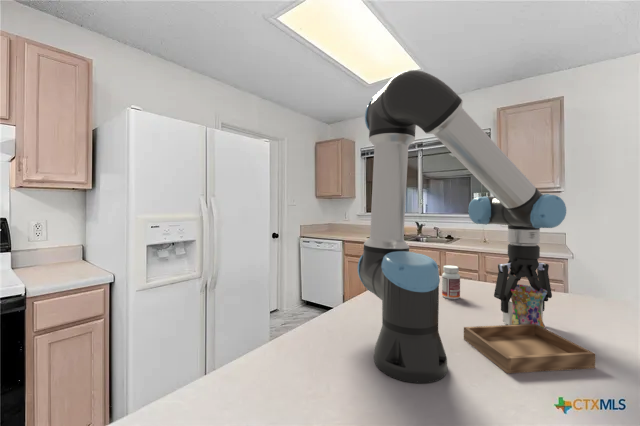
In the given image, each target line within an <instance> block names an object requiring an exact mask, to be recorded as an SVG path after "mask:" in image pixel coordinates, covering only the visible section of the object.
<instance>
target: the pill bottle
mask: <svg viewBox="0 0 640 426" xmlns="http://www.w3.org/2000/svg"><path fill="white" fill-rule="evenodd" d="M442 267H443V273H442V275H441V295H442V297H443V298H445V299H450V300H457V299H460V298H461V275H460V274H459V271H460V270H459V269H460V268H459V266H457V265H450V264H449V265H443V266H442Z"/></svg>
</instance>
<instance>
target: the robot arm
mask: <svg viewBox="0 0 640 426" xmlns="http://www.w3.org/2000/svg"><path fill="white" fill-rule="evenodd" d="M463 102H464V100H463V99H462V98H461V97H460V96H459V95H458V94H457V93H456V91H454V90H453V89H452V88H451V87H450V86H449V85H448V84H447V83H446V82H444V81H443V80H441V79H440V78H438V77H436V76H435V75H433V74H430V73H428V72H425V71H421V70H416V69H415V70H414V69H413V70H412V69H411V70H406V71H402V72H400V73H398V74H396V75H394V77H392V78H391V79H390V80H389V81H388V82H387V84H386V85H385V86H384V87H383V88H382V89H380V90H379V91H378V92H376V93H375V95H373V96H372V98H371V99H370V100H369V103H368V104H367V106H366V109H365V113H364V124H365V126H366V129H367V130H368V141H369V142H370V143H371V145H373V146H374V149H373V165H372V166H373V170H372V187H371V189H372V192H371V193H372V194H371V210H370V211H371V212H370V226H369V227H370V229H369V230H370V232H369V238H367V240H365V241H364V242H363V254H362V255H360V257H359V258H358V262H357V275H358V278H359V280H360V282H361V283H362V285H363V286H364V287H365V288H366V289H367V291H369V292H370V293H372V294H373V295H375V296H376V297H377V298H378V299H380V300H381V302H382V303H381V306H382V307H381V312H382V313H381V315H382V318H381V319H382V321H381V323H382V325H381V328H380V331H379V334H378V336H377V337H378V338H377V340H376V341H375V342H376V343H375V345H374V350H373V353H374V354H373V355H374V358H373V360H374V364H375V366H376V368H378V369H379V371H381V372H382V373H384V374H385V375H387V376H389V377H391V378H393V379H396V380H400V381H402V382H407V383H413V384H414V383H415V384H427V383H434V382H436V381H439V380H441V379H442V378H444V377H445V376H446V375H447V373H448V357H447V354H446V350H445V348H444V345H443V341H442V339H441V336H440V332H439V315H440V314H439V313H440V312H439V308H440V307H439V306H440V305H439V302H440V301H439V299H440V298H439V297H440V296H439V295H440V293H439V292H440V288H439V287H440V282H441V281H440V279H441V278H440V273H439V271H440V270H439V265H438V263H437V262H436V261H435V260H434V259H433V258H432V257H430V256H428V255H426V254H423V253H417V252H414V251H410V245H409V244H408V243H407V242H406V240H405V238H404V237H405V236H404V235H405V220H406V219H405V217H406V215H405V214H406V199H407V197H406V196H407V181H408V180H407V178H408V177H407V176H408V164H409V163H408V160H409V146H410V145H411V144H412V143H413V142H415V140H416V126H417V127H419V128H420V129H421V130H422V131H423V132H424V133H425V134H426V135H427V134H429V135H434V136H435V137H436V139H438V140H439V142H440V143H441V144H442V145H443V146H445V148H446V149H448V151H450V153H451V154H452V155H453V156H454V157H455V158H456V159H457V160H458V161H459V162H460V163H461V164H462V165H463V166H464V167H465V168H466V169H467V170H468V171H469V172H470V173H471V174H472V175H473V177H475V179H476V180H478V182H479V183H481V184H482V186H484V188H485V189H486V190H487V191H488V192H489V193H490V194H491V195H492V196H478V197H475V198H472V199H471V200H470V202H469V205H468V212H467V213H468V217H469V219H470V221H472V222H473V223H474V224H477V225H501V226H502V225H503V226H507V242H508V244H507V256H508V261H507V263H498V264H497V270H498V273H497V276H496V277H497V279H496V283H495V288H494V292H493V296H494V298H496V299H498V300H500V311H501V312H502V323H504V324H505V325H512V301H510V300H511V296H512V292H511V289H512V290H515V287H516V285H518V283H519V282H520V281H521V280H522V278H527V280H528V282H529V286H531V287H532V288H534V289H535V290H537V291H539V290H540V288H542V289H544V290H546V291H547V294H546V296H545V298H544V300H543V303H542V307H541V317H542V321H543V322H544V319H543V316H544V315H543V314H544V311H545V307H546V305H545V304H546V302H548V301H549V299H551V298H552V297H553V293H552V288H551V287H552V286H551V282H550V277H549V267H550V265H549V264H548V263H545V262H539V259H540V257H541V256H540V254H541V253H540V252H541V250H540V249H541V246H540V245H539V244H540V243H541V242H540V241H541V238H540V237H541V229H553V228H556V227H559V226H560V225H562V223H563V222H564V221H565V219H566V216H567V206H566V203H565V202H564V199H563V198H561V197H560V196H558V195H555V194H549V193H544V194H543V193H542V192H541V191H540V190H539V189H538V188H537V187H536V186H535V184H533V183H532V181H530V179H528V177H527V176H526V175H525V174H524V173H523V172H522V171H521V170H520V169H519V167H517V165H516V164H515V163H514V162H513V161H512V160H511V159H510V158H509V157H508V156H507V154H506V153H505V152H504V151H503V150H502V149H501V148H500V147H499V146H498V145H497V144H496V143H495V141H494V140H493V139H491V137H490V136H489V135H488V133H486V132H485V131H484V130H483V128H481V126H479V124H478V123H477V122H476V121H475V120H474V119H473V118H472V116H470V115H469V114H468V112H467V111H466V110H465V109H464V108H463Z"/></svg>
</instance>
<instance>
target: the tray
mask: <svg viewBox="0 0 640 426" xmlns="http://www.w3.org/2000/svg"><path fill="white" fill-rule="evenodd" d="M463 340H464V341H465V342H467V343H468V344H469V345H471V346H472V347H473V348H474V349H476V350H477V351H478V352H480V353H481V354H482V355H483V356H484V357H486V358H487V359H488V360H490V361H491V362H492V363H493V364H495V365H496V366H497V367H498V368H500V370H502V371H504V372H505V373H506V374H519V373H521V374H522V373H535V372H536V373H538V372H540V373H541V372H552V371H553V372H554V371H555V372H556V371H573V370H591V369H596V353H595V352H592V351H591V350H589V349H587V348H586V347H583V346H581V345H579V344H577V343H575V342H572V341H571V340H569V339H567V338H564V337H563V336H560V335H558V334H557V333H554V331H553V332H552V330H549V329H546V328H543V327H541V326H539V325H537V324H522V325H508V324H504V325H502V324H501V325H500V324H499V325H482V326H481V325H480V326H479V325H478V326H463Z"/></svg>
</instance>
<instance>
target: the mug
mask: <svg viewBox="0 0 640 426" xmlns="http://www.w3.org/2000/svg"><path fill="white" fill-rule="evenodd" d="M511 292H512V296H511V299H510V300H511V302H512V325H522V324H537V325H539V326H541V327H543V328H545V327H546V325H545V323H544V320H543V321H542V317H541V307H542V303H543V300H544V298H545V296H546V294H547V291H546V290H544V289H542V288H540V290H539V291H537V290H535V289H534V288H532V287H531V285H530V284H527V285H526V284H517V285H516V287H515V290H512V289H511ZM545 329H546V328H545Z"/></svg>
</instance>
